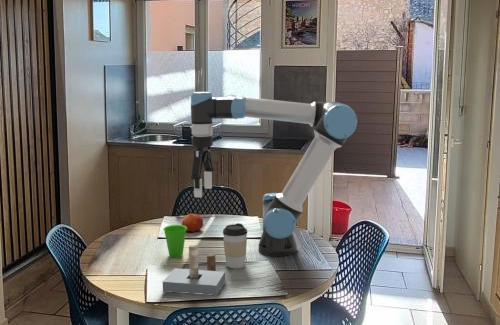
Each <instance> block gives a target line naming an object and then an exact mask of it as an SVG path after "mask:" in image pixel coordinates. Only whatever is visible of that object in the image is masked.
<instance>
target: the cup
mask: <svg viewBox="0 0 500 325" xmlns="http://www.w3.org/2000/svg"><path fill="white" fill-rule="evenodd" d="M186 229H187V227H186V226H183V225H182V224H171V225H166V226H164V227H163V229H162V230H163V231H164V236H165V240H166V246H167V252H168V255H169V257H171V258H181V257H183V254H184V248H185V242H186V241H185V239H186V233H187V231H186Z"/></svg>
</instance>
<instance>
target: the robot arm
mask: <svg viewBox="0 0 500 325" xmlns="http://www.w3.org/2000/svg"><path fill="white" fill-rule="evenodd" d="M190 95H191V96H190V115H191V116H190V117H191V118H190V119H191V122H190V123H191V125H190V127H189V128H190V129H191V135H192V136H191V145H192V147H194V148H197V149H196V150H194V151H193V163H192V169H191V170H192V172H191V180H193V196H194V198H203V181H204V190H206V189H207V190H208V189H209V190H212V189H213V182H212V181H213V176H212V174H213V173H212V172H214V171H215V168H214V162H213V156H212V152H211V149H212V146H213V145H214V139H213V132H214V131H213V130H214V129H213V119H227V120H228V119H229V120H230V119H231V120H232V119H234V120H238V119H244V118H250V119H251V118H253V119H261V120H269V121H270V120H271V121H280V122H290V123H297V124H306V125H307V124H308V125H309V126H310V127H312V128H314V129H313V133H314V138H313V139H312V141H311V143H310V144H309V146H308V147H307V149H306V151H305V153H304V154H303V156H302V158H301V159H300V161H299V162H298V164H297V166H296V168H295V170H294V171H293V173H292V175H291V177H290V178H289V180H288V181H287V183H286V184H285V187H283V190H282V192H270V193H269V192H268V193H265V194H263V196H262V233H261V235H260V236H261V237H260V239H259V242H258V252H259V253H261V254H263V255H266V256H271V257H284V256H285V257H286V256H290V255H293V254H296V252H297V242H296V239H295V236H294V232H295V230H296V227H297V221H298V220H299V218H301V215H302V213H303V211H304V209H303V203H304V202H305V201H306V199H307V197H308V195H309V194H310V192H311V191H312V189H313V187H314V185H315V184H316V182H317V181H318V179H319V177H320V175H321V174H322V172H323V170H324V168H326V165H327V164H328V162H329V160H330V159H331V157H332V156H333V154H334V152H335V150H336V149H339V148H342V147H343V146H344V144H345V142H346V140H347V139H348V138H349V137H350V136H352V135H353V133H354V132H355V131H356V129H357V125H358V117H357V114H356V112H355V111H354V109H353V108H352V107H351V106H349V105H348V104H345V103H343V102H339V101H331V102H330V101H329V102H327V101H325V102H324V101H313V102H312V103H305V102H295V101H286V100H277V99H269V98H268V99H267V98H256V97H248V96H239V95H235V94H229V95H226V96H225V97H213V94H212V92H210V91H194V92H193V93H191V94H190ZM203 168H204V172H203ZM202 174H203V178H204V179H202Z"/></svg>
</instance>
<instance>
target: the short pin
mask: <svg viewBox="0 0 500 325" xmlns="http://www.w3.org/2000/svg"><path fill="white" fill-rule="evenodd" d="M216 264H217V263H216V254H214V253H211V254H210V253H209V254H207V255H206V271H217V270H216V269H217V268H216Z"/></svg>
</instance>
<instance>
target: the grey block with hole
mask: <svg viewBox="0 0 500 325" xmlns="http://www.w3.org/2000/svg"><path fill="white" fill-rule="evenodd" d="M198 271H199V280H198V279H190V274H189V268H176V267H174V268H173V270H172V271H171V272H170V273H169V274H168V275H167V276H166V277H165V278H164V279H163V281H162V292H163V291H172V292H189V293H203V294H212V295H217V296H218V294H219V293H218V291H219V290H220V291H221V289H222V288H223V286H224V285H225V283H226V271H217V270H216V271H207V269H206V270H203V269H198ZM224 282H225V283H224ZM222 285H223V286H222ZM221 287H222V288H221ZM220 288H221V289H220ZM220 291H219V292H220ZM172 292H171V293H172ZM217 293H218V294H217Z"/></svg>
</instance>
